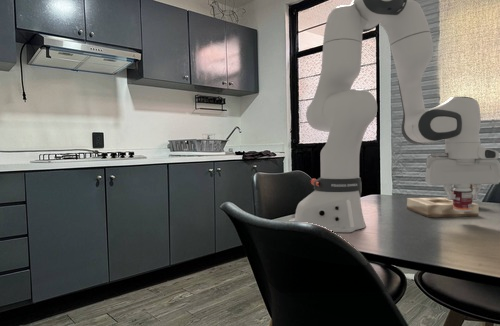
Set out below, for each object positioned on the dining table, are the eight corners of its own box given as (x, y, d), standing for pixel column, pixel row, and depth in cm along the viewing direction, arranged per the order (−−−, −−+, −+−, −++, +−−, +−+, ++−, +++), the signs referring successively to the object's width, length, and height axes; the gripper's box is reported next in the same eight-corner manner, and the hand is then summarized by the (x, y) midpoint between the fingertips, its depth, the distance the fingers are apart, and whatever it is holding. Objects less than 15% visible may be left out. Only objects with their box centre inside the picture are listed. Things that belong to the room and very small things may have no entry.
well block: (427, 217, 112) (427, 205, 112) (407, 208, 128) (406, 198, 128) (478, 216, 111) (478, 204, 111) (451, 207, 127) (451, 197, 127)
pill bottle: (449, 209, 105) (449, 181, 104) (465, 208, 104) (465, 181, 104) (458, 211, 100) (458, 182, 100) (475, 211, 100) (475, 182, 99)
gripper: (431, 153, 99) (431, 201, 99) (505, 152, 98) (504, 201, 99) (421, 153, 105) (421, 198, 106) (490, 152, 104) (490, 197, 105)
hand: (462, 199), depth 102 cm, fingers closed on pill bottle, 5 cm apart
